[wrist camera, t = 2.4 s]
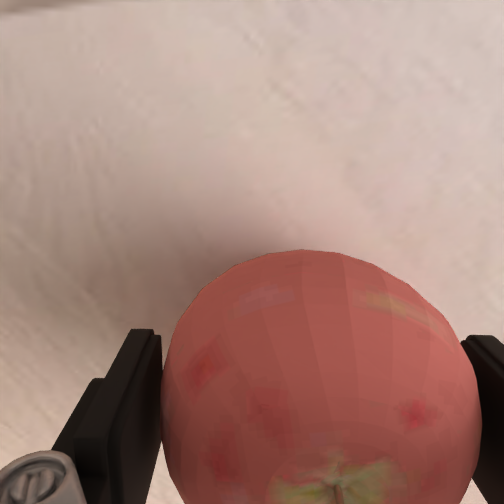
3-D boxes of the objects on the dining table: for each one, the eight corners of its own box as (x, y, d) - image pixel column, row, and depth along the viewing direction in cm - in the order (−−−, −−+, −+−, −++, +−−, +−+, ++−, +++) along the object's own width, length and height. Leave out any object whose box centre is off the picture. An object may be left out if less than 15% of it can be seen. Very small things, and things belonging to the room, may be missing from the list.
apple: (383, 416, 16) (514, 700, 8) (184, 408, 15) (126, 694, 8) (419, 222, 13) (651, 364, 6) (187, 209, 13) (109, 341, 6)
